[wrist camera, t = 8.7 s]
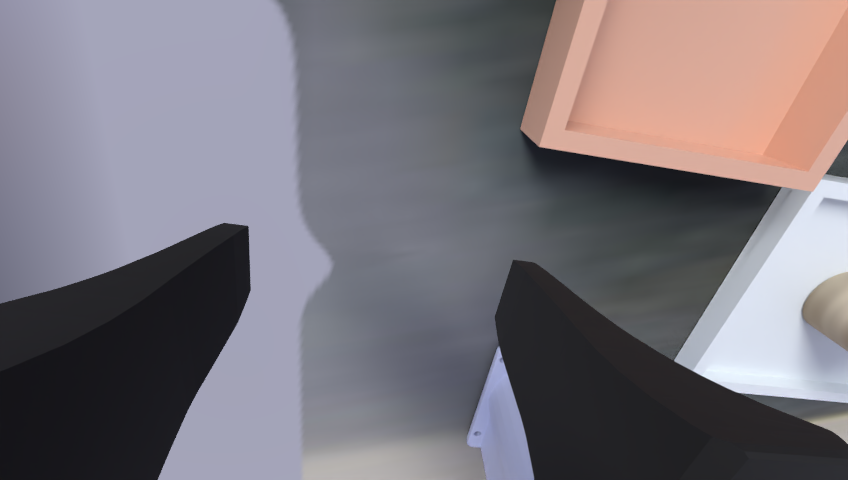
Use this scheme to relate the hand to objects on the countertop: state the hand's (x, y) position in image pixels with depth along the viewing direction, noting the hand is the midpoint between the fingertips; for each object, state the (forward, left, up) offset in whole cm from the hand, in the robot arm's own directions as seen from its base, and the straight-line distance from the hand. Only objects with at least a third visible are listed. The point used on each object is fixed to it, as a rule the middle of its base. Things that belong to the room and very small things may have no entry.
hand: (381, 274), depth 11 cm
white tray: (-4, -27, -9) cm, 29 cm away
